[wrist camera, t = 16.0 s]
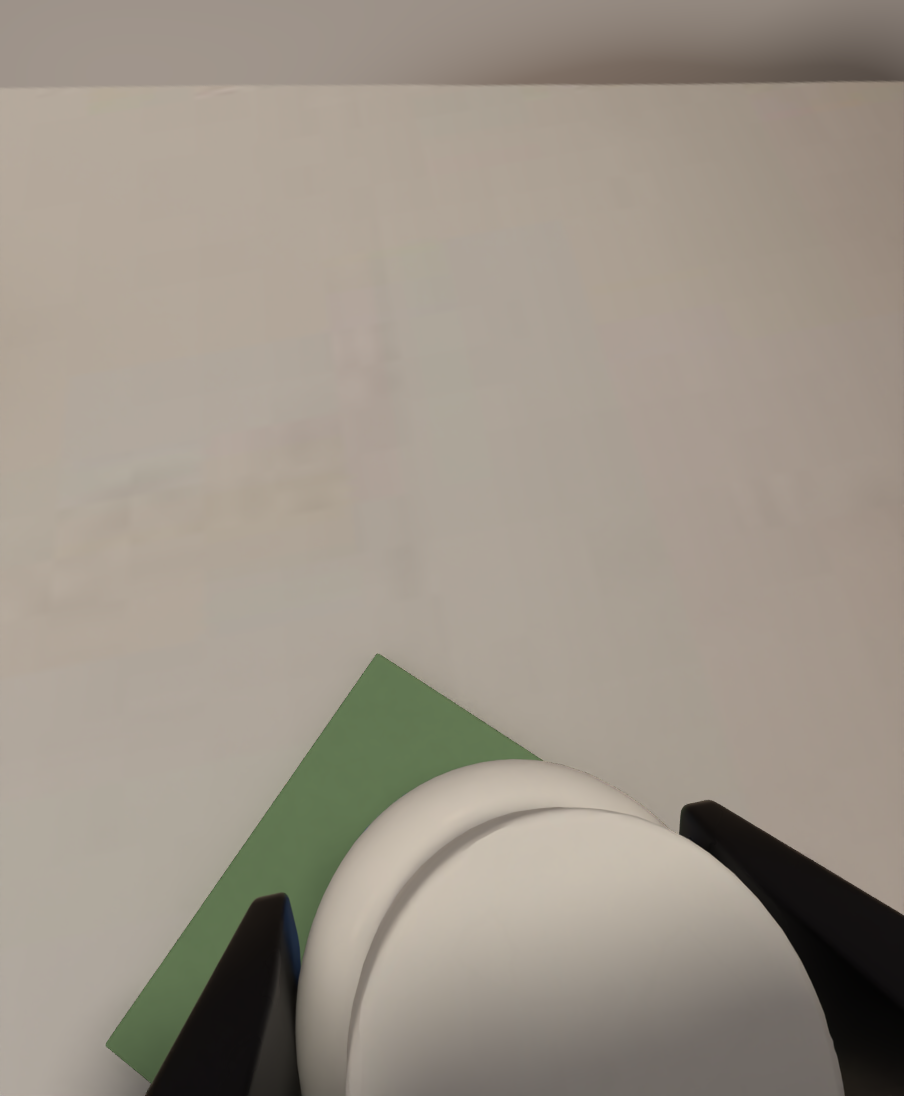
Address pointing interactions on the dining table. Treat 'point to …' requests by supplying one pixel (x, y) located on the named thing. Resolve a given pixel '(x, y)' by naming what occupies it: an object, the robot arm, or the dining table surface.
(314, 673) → the dining table surface
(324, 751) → the towel
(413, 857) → the pill bottle
